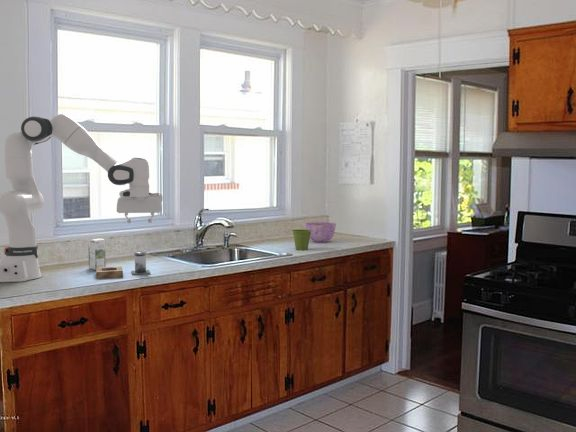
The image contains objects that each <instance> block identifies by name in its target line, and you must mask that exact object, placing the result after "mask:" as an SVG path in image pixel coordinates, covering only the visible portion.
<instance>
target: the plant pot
mask: <svg viewBox="0 0 576 432" xmlns="http://www.w3.org/2000/svg"><path fill="white" fill-rule="evenodd" d="M291 232H292V234H293V239H294V246H295V247H294V248H295V250H299V251H306V250H308V249H309V246H310V245H309V244H310V240H311V239H310V235H311V232H312V230H307V229H305V228H304V229H303V228H302V229H300V228H299V229H292V230H291Z"/></svg>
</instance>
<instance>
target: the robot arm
mask: <svg viewBox="0 0 576 432" xmlns="http://www.w3.org/2000/svg"><path fill="white" fill-rule="evenodd" d="M51 137H52V138H55V139H57V140H59V141H60V142H61V143H62V144H63V145H64V146H65V147H67V148H69V150H71V151H73V152H75V153H76V154H78V155H81V156H85V157H87V158H89V159H91V160H93V161H94V162H95V163H97V164H98V166H100V167H101V168H102V169H104V171H106V173H107V178H108V181H109V182H110V183H111V184H113V185H115V186H125V185H127V184H129V185H128V186H129V187H128V188H127V189H125V190H122V191H119V192H118V194H119V197H118V198H117V202H116V213H118V214H124V216H125V218H126V223H128V224H131V223H132V222H131V218H129V217H128V216H129V214H150V218H149V217H148V218H147V220H148V221H147V223H148V224H149V223H152V221H153V218H154V216H155V213H156V214H157V213H158V214H160V213H162V211H163V205H162V201H163V195H162V194H161V193H160V192H150V184H149V179H150V166H149V162H148V161H147V160H146V159H145V158H143V157H139V156H138V157H137V156H131V157H130V158H128V159H127V160H125V161H122V162H119V161H116V159H114V158H113V157H112V156H110V154H108V153H107V152H106V151H104V150H103V149H102V148H101V147H100V146H99V144H98V143H97V142H96V141H95V139H94V138H93V136H92V135H91V134H90V133H89V131H88V130H86V129H85V128H84V127H83V126H82V125H81V124H80V123H78V122H77V121H76V120H74V119H73V118H72V117H70V116H68V115H66V114H64V113H59V114H56V115H54V116H53V117H52V118H51V119H48V118H44V117H40V116H29V117H27V118H25V119H24V120H23V121H22V123H21V126H20V131H19V132H12V133H10V134H8V135H7V136H6V138H5V144H4V168H5V169H4V170H5V176H6V178H7V180H9V182H10V184H11V186H12V190H9V191H7V192H4V193H3V194H0V213H1V215H2V216H3V217H4V220H5V223H6V225H7V231H8V245H9V246H5V247H4V251H3V252H4V256H2V257H1V258H0V283H8V282H9V283H10V282H12V283H14V282H15V283H16V282H26V281H30V280H36V279H40V278H41V277H42V272H41V270H40V264H39V246H38V245H37V244H38V243H37V228H36V226H35V225H34V224H33V222H32V220H31V216H30V215H31V214H35V213H36V212H38V211H40V210H41V209H42V208H43V207H44V205H45V199H44V196H43V194H42V193H41V191H40V190H39V188H38V185H37V183H36V179H35V174H34V161H33V148H34V146H36V145H39V144H41V143H45V142H47V141H49V140H50V139H51Z"/></svg>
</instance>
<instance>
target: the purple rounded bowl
mask: <svg viewBox="0 0 576 432" xmlns="http://www.w3.org/2000/svg"><path fill="white" fill-rule="evenodd" d="M336 227H337V223H335V222H327V221H326V222H325V221H323V222H322V221H321V222H320V221H316V222H315V221H313V222H306V223H305V230H312V232H311V235H310V239H309V240H312V241H313V242H315V243H327V242H328V241H330V240H331V239H333V237H334V234H335V232H336V231H335V230H336Z"/></svg>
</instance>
